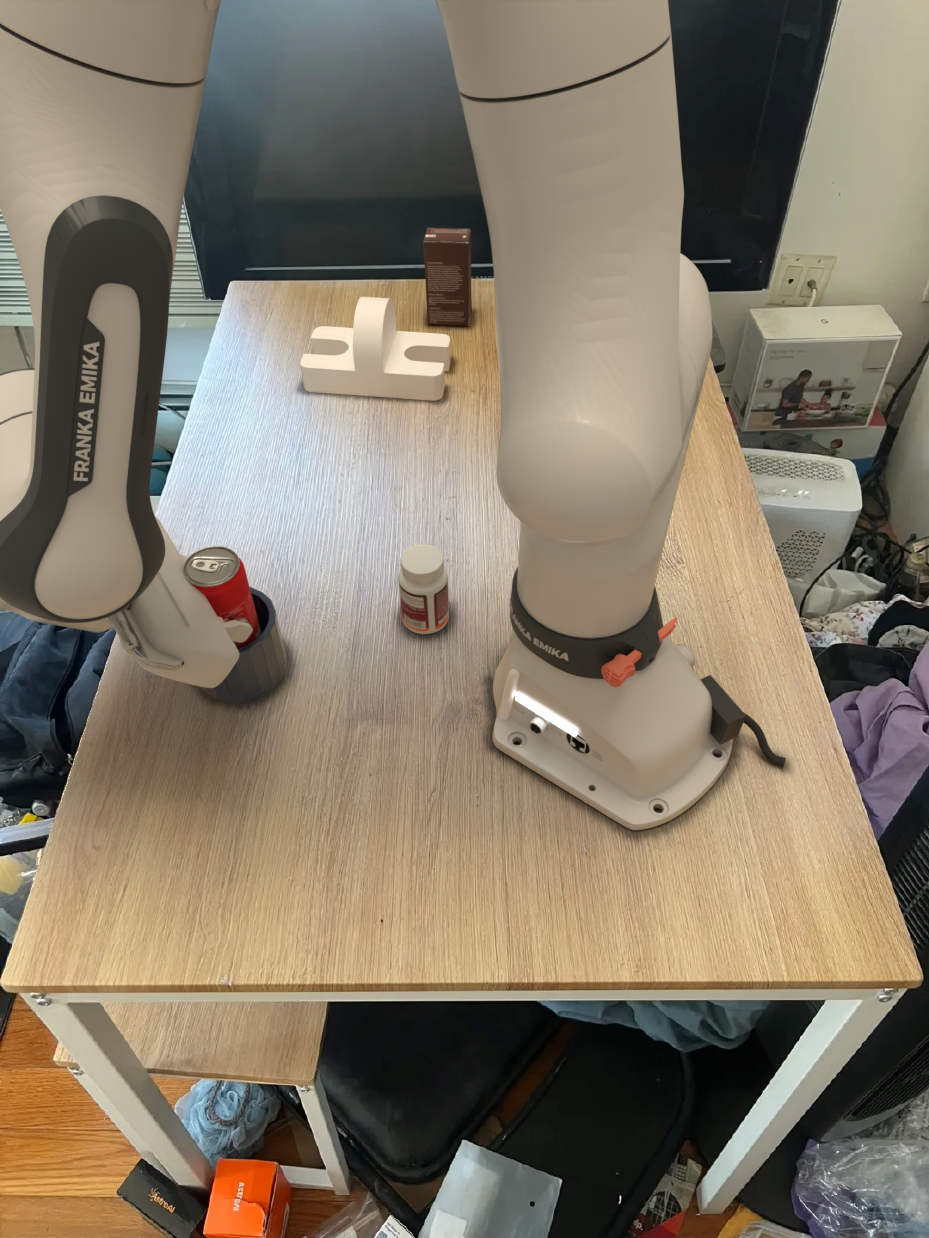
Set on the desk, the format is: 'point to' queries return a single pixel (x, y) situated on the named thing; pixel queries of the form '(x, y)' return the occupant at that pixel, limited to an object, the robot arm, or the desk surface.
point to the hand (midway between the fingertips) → (231, 607)
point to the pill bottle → (423, 589)
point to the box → (448, 276)
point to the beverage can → (223, 585)
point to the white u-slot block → (376, 357)
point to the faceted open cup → (256, 659)
